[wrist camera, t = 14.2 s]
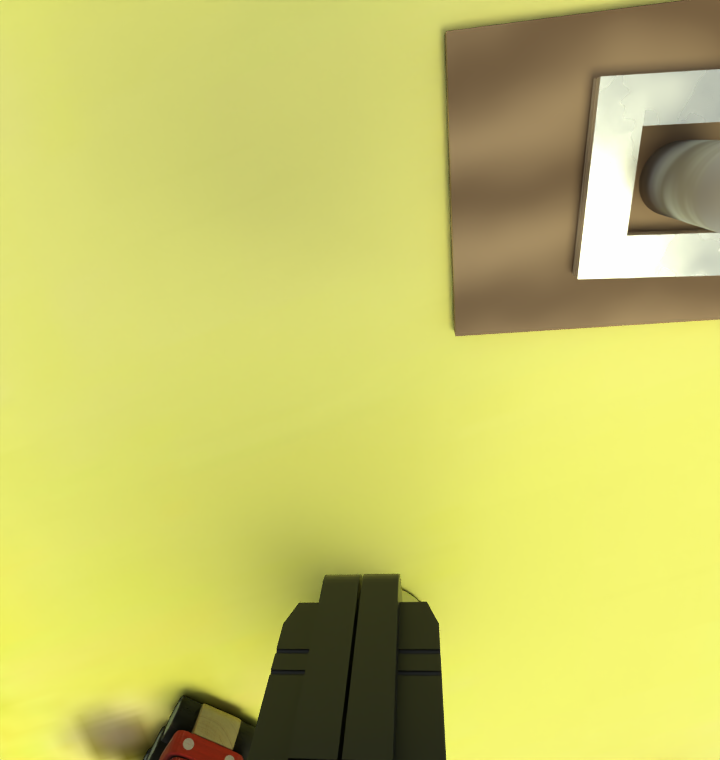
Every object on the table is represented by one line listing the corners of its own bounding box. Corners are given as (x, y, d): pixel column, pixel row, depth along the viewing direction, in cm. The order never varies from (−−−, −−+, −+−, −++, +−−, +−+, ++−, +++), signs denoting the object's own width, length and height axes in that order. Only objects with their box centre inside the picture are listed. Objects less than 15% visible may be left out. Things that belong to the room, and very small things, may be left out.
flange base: (865, 303, 34) (994, 351, 26) (454, 330, 37) (464, 379, 29) (958, -32, 27) (1167, -96, 19) (445, 35, 30) (455, 1, 22)
